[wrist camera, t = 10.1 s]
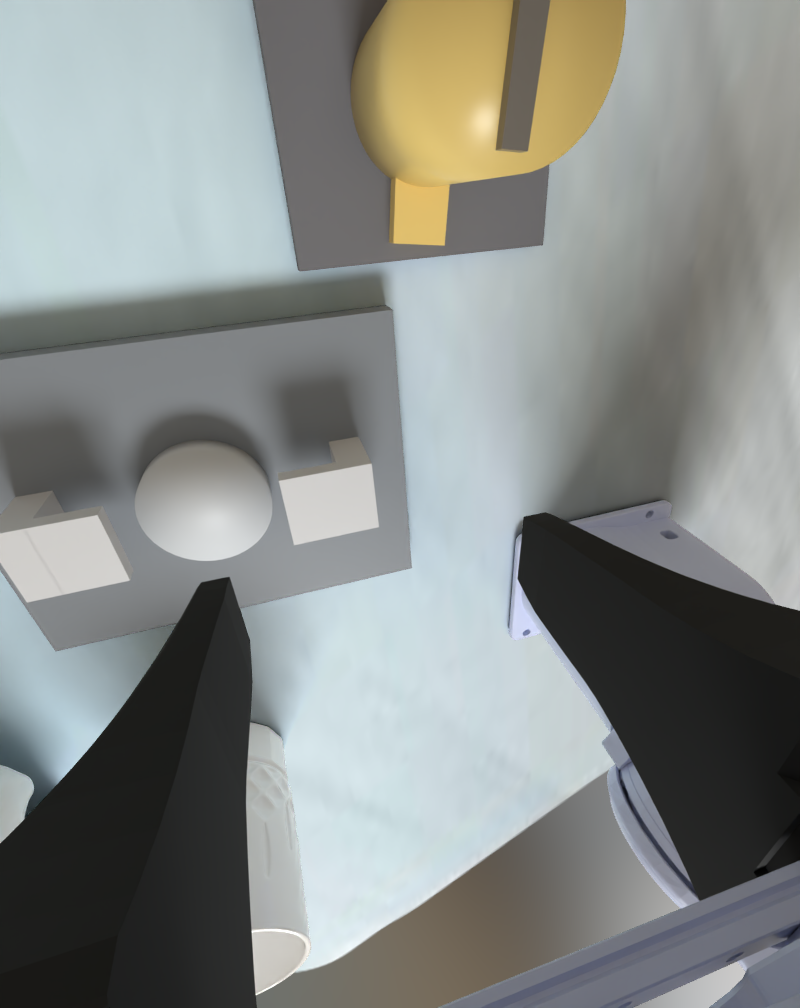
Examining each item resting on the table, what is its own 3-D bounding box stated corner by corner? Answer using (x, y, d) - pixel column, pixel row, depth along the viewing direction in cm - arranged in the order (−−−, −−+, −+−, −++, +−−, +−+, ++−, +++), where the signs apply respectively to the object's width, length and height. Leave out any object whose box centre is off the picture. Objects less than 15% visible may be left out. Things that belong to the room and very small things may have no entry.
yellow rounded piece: (473, 246, 17) (583, 261, 11) (351, 241, 16) (407, 255, 10) (507, -68, 13) (701, -278, 7) (349, -103, 12) (437, -380, 6)
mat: (561, -122, 13) (573, -135, 13) (534, 244, 18) (542, 244, 18) (229, -138, 12) (228, -155, 11) (298, 269, 16) (299, 271, 16)
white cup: (228, 807, 31) (221, 1021, 23) (121, 772, 27) (65, 1019, 19) (320, 741, 30) (346, 940, 22) (224, 693, 26) (212, 918, 18)
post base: (385, 305, 18) (412, 322, 15) (406, 556, 24) (427, 602, 21) (-111, 367, 15) (-198, 404, 12) (63, 634, 21) (34, 700, 18)
